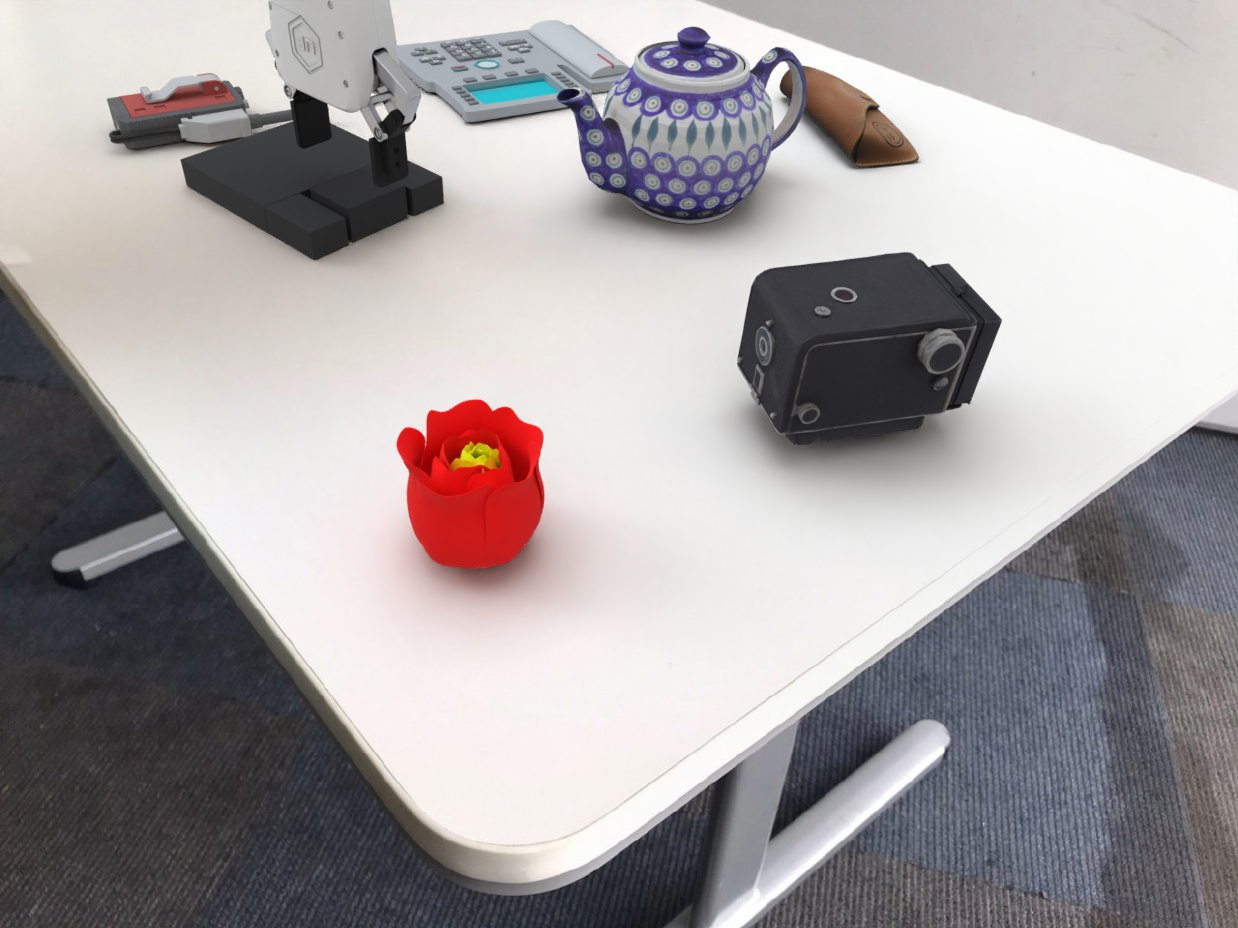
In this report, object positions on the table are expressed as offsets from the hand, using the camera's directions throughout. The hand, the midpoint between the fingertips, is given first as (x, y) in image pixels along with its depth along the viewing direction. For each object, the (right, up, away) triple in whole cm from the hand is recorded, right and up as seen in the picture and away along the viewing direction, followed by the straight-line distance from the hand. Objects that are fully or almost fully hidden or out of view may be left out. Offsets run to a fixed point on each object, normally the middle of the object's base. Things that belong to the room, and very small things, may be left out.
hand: (352, 162), depth 84 cm
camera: (+37, -22, -14) cm, 46 cm away
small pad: (0, -4, +3) cm, 5 cm away
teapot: (+27, -1, +9) cm, 29 cm away
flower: (+14, -30, -24) cm, 41 cm away
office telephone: (+11, +18, +29) cm, 36 cm away
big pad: (-5, -1, +6) cm, 8 cm away
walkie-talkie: (-17, +8, +15) cm, 24 cm away
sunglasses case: (+46, +10, +23) cm, 52 cm away
